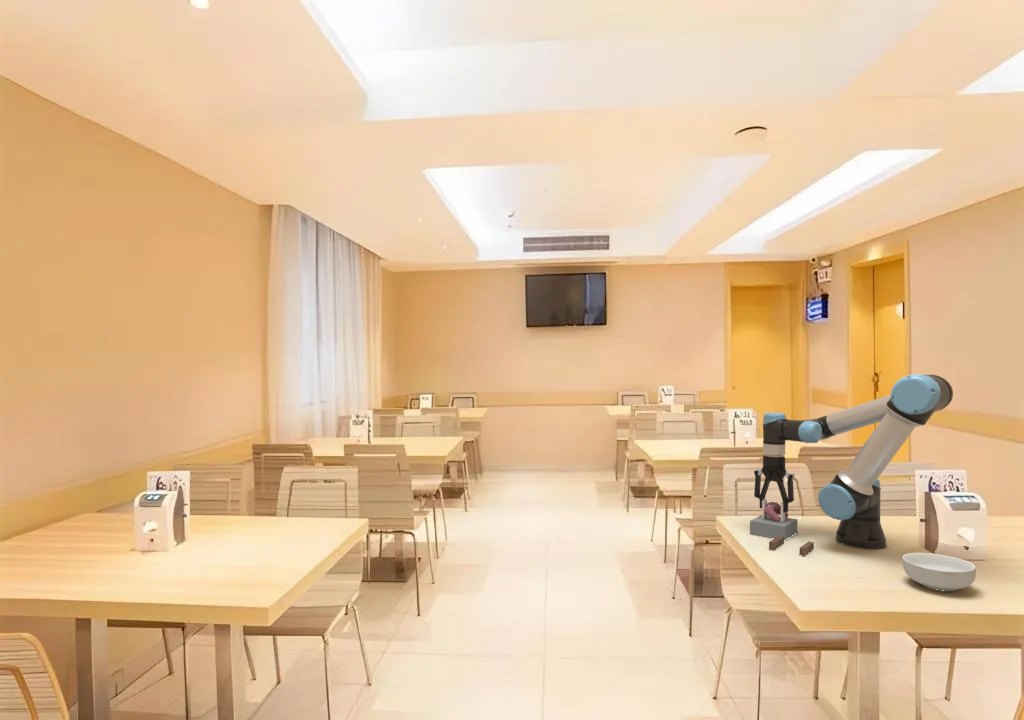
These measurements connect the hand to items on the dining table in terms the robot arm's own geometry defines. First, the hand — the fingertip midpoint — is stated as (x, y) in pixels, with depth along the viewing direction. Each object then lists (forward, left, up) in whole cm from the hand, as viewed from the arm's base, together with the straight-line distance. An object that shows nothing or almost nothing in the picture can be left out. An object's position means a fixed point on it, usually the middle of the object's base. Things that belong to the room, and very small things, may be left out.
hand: (773, 519), depth 221 cm
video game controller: (0, -2, 0) cm, 2 cm away
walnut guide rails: (-11, +16, -5) cm, 20 cm away
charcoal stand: (0, 0, -5) cm, 5 cm away
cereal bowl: (-52, +24, -6) cm, 58 cm away
